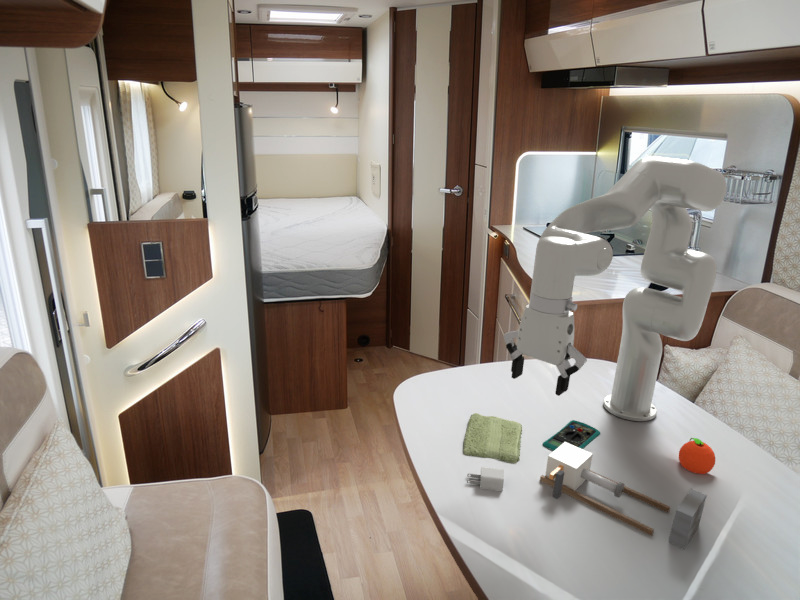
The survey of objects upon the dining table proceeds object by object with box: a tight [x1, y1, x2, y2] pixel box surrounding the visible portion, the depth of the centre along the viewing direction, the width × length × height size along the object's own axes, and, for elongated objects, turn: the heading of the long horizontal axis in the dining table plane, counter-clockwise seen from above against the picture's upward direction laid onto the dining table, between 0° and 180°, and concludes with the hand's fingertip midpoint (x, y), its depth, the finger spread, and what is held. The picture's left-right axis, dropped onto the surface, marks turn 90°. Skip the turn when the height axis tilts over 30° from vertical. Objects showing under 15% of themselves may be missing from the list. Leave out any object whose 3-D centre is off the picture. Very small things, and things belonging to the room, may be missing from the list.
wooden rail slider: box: [539, 469, 708, 550], centre depth 111 cm, size 14×30×8 cm, turn 48°
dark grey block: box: [552, 470, 564, 499], centre depth 112 cm, size 2×1×5 cm, turn 138°
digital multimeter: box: [542, 419, 601, 452], centre depth 132 cm, size 7×15×3 cm, turn 138°
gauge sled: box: [544, 442, 625, 499], centre depth 114 cm, size 11×14×6 cm
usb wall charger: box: [466, 466, 505, 492], centre depth 116 cm, size 4×7×4 cm, turn 81°
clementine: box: [678, 437, 716, 475], centre depth 124 cm, size 8×7×7 cm
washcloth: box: [463, 412, 523, 464], centre depth 132 cm, size 13×18×3 cm
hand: (538, 384), depth 117 cm, fingers open, 9 cm apart
